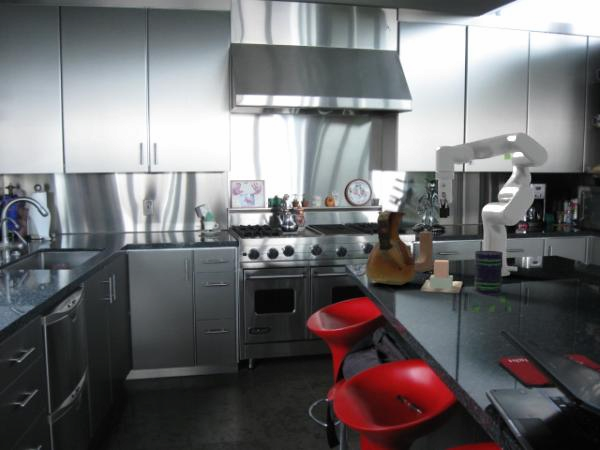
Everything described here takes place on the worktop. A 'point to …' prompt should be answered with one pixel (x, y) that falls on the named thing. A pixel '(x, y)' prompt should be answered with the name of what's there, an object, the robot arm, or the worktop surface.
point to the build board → (455, 288)
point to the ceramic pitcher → (390, 253)
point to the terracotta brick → (441, 268)
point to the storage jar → (488, 272)
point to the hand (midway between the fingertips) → (444, 217)
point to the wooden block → (425, 253)
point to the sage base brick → (441, 282)
